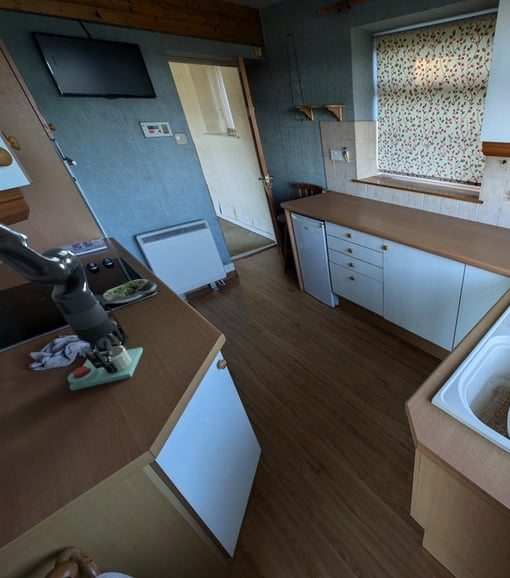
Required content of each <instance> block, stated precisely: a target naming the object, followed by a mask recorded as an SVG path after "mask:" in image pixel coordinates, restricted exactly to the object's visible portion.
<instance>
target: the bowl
mask: <svg viewBox="0 0 510 578" xmlns="http://www.w3.org/2000/svg"><path fill="white" fill-rule="evenodd" d="M111 350H112V355H111V359H112V361H113V363H114V364H115V366H116V367H117V369H118V371H120V370H122V369H124V368H126V367H127V366H128V365H129V364H130V362H131V360H132V359H131V357H130V355H129V354H128V352H127V350H128V349H126V347H125V346H124V345H123V346H114V347H111ZM105 353H107V351H105V352H101V354H105ZM104 358H105V360H107V358H106V357H104ZM103 369H104V370H105V368H104V367H103ZM105 371H106V370H105ZM106 372H107V371H106Z"/></svg>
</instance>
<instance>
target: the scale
mask: <svg viewBox="0 0 510 578" xmlns="http://www.w3.org/2000/svg"><path fill="white" fill-rule="evenodd" d="M126 350H127V352H128V354H129V355H130V357H131V359H132V360H131V362H130V364H129V365H128V366H127V367H126V368H124V369H122V370H120V371H117V372H116V373H111V374H109V373H107V372H106V371H105V370H104V369H103V367H102V368H98V369H96V368H95V367H94V366H93V364H92V363H91V362H90V361H89V360H88V359H87V358H86V361H85V362H84V364H83V365H82V366H86V367H88V369H89V370H90V373H89V374H87V375H86V376H84V377H82V378H75V376H74V375H73V374H72V373H73V371H72V372H70V373H69V375H68V377H67V379H66V380H67V381H68V383H69V384H70V385H69V387H68V388H69V389H70V390H71V391H76V390H81V389H84V388H89V387H93V386H94V387H95V386H98V385H102V384H106V383H112V382H116V381H119V380H124V379H128V378H132V376H133V374H134V372H135V369H136V368H137V365H138V363H139V361H140V358H141V356H142V354H143V351H144V349H143V347H136V348H131V349H126ZM98 363H99V362H98Z"/></svg>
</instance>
